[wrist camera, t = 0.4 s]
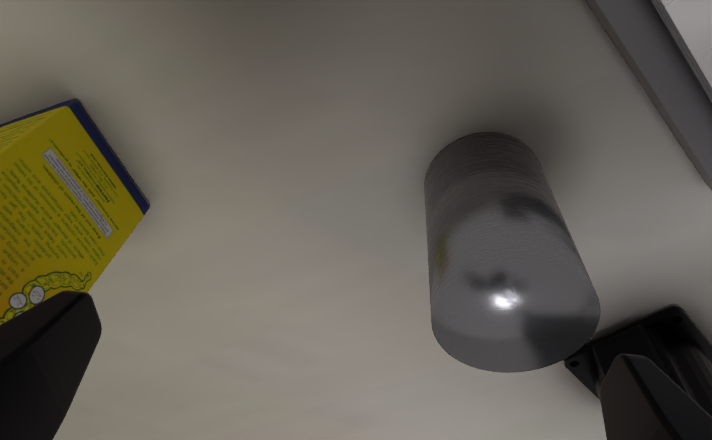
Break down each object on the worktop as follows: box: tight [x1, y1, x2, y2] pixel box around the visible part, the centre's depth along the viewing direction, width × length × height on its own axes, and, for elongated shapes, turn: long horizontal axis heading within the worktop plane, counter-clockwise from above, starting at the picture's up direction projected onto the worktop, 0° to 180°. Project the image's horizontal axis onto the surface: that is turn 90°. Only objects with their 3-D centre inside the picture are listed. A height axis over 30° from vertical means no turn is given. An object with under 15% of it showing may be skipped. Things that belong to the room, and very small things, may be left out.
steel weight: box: [425, 133, 600, 372], centre depth 18 cm, size 5×5×8 cm
